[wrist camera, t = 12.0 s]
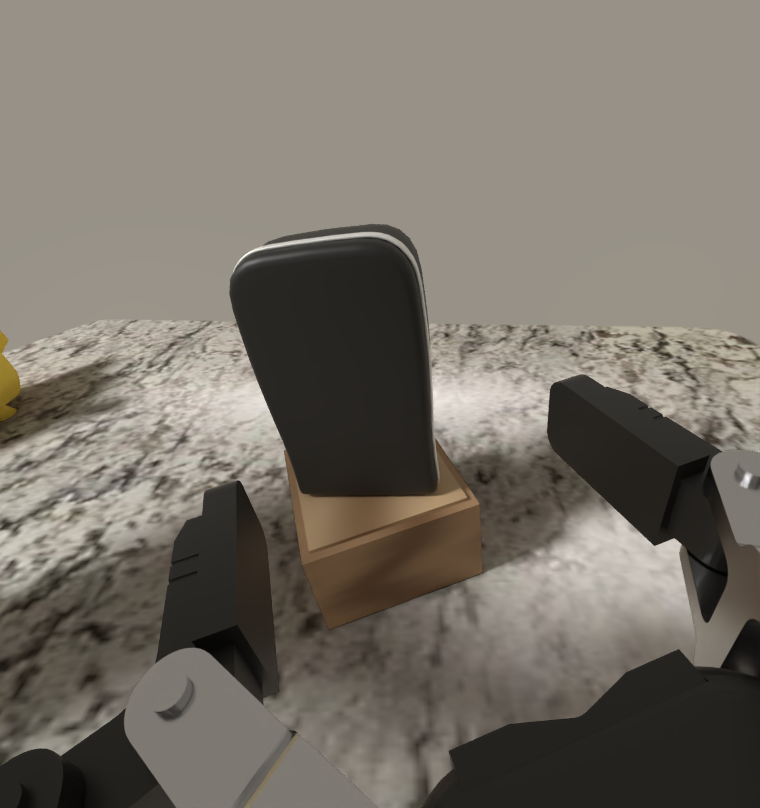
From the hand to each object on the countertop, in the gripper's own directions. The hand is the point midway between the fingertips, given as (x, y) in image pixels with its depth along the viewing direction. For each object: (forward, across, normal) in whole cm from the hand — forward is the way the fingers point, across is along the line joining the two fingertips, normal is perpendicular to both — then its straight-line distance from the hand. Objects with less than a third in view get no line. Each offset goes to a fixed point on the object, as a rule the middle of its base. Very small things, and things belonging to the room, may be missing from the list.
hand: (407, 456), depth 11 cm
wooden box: (+8, 0, +12) cm, 15 cm away
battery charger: (+8, 0, +8) cm, 11 cm away
